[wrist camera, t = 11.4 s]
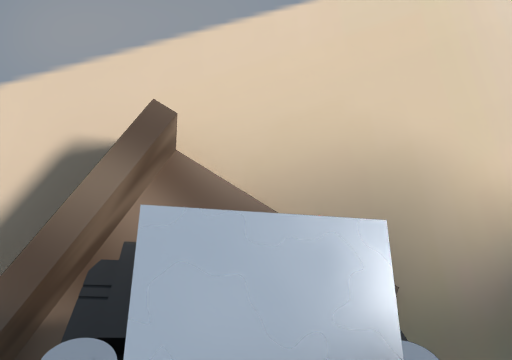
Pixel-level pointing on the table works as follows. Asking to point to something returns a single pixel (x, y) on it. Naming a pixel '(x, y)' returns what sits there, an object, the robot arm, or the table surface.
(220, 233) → the aluminium bracket
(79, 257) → the walnut corner tray
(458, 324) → the table surface
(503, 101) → the table surface
